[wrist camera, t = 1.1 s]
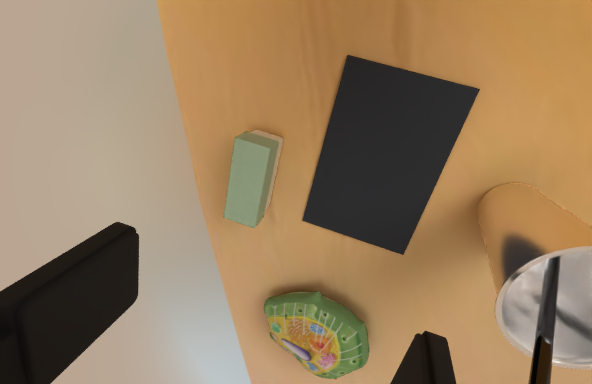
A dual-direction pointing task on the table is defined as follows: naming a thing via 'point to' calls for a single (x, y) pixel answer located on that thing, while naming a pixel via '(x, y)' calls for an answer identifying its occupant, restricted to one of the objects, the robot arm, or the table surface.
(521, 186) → the metal cup with straw
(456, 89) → the desk mat
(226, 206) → the green and beige block
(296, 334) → the educational model
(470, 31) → the table surface
